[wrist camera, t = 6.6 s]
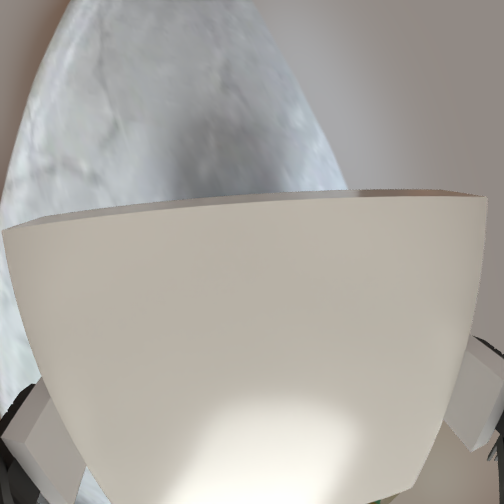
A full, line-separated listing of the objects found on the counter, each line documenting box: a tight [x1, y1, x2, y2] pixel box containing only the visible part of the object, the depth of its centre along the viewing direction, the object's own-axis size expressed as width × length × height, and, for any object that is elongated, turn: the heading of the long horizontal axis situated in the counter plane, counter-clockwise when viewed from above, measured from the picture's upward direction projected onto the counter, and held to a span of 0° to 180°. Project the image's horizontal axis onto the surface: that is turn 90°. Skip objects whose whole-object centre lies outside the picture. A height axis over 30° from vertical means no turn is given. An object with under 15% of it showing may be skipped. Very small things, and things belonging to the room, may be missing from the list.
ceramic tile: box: [2, 189, 487, 504], centre depth 8 cm, size 11×11×2 cm
